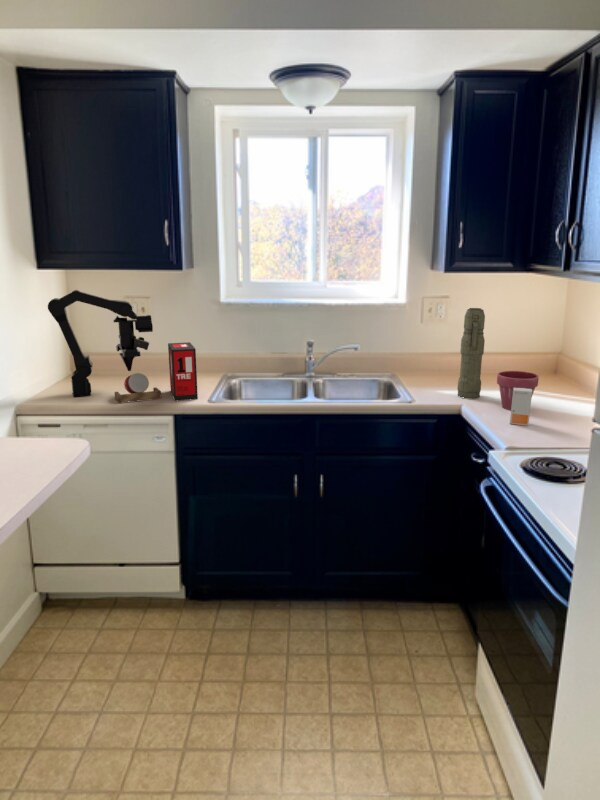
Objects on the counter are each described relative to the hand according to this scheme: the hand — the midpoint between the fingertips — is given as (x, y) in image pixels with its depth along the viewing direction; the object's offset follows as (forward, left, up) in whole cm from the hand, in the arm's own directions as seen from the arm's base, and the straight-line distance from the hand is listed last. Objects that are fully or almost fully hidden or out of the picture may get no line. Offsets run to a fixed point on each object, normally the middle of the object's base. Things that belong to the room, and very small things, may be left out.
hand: (129, 370), depth 237 cm
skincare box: (+108, -106, -9) cm, 151 cm away
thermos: (+119, -70, -9) cm, 138 cm away
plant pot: (+122, -91, -9) cm, 152 cm away
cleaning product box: (+18, -15, -9) cm, 25 cm away
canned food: (0, -4, -5) cm, 7 cm away
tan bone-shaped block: (0, -13, -9) cm, 16 cm away
